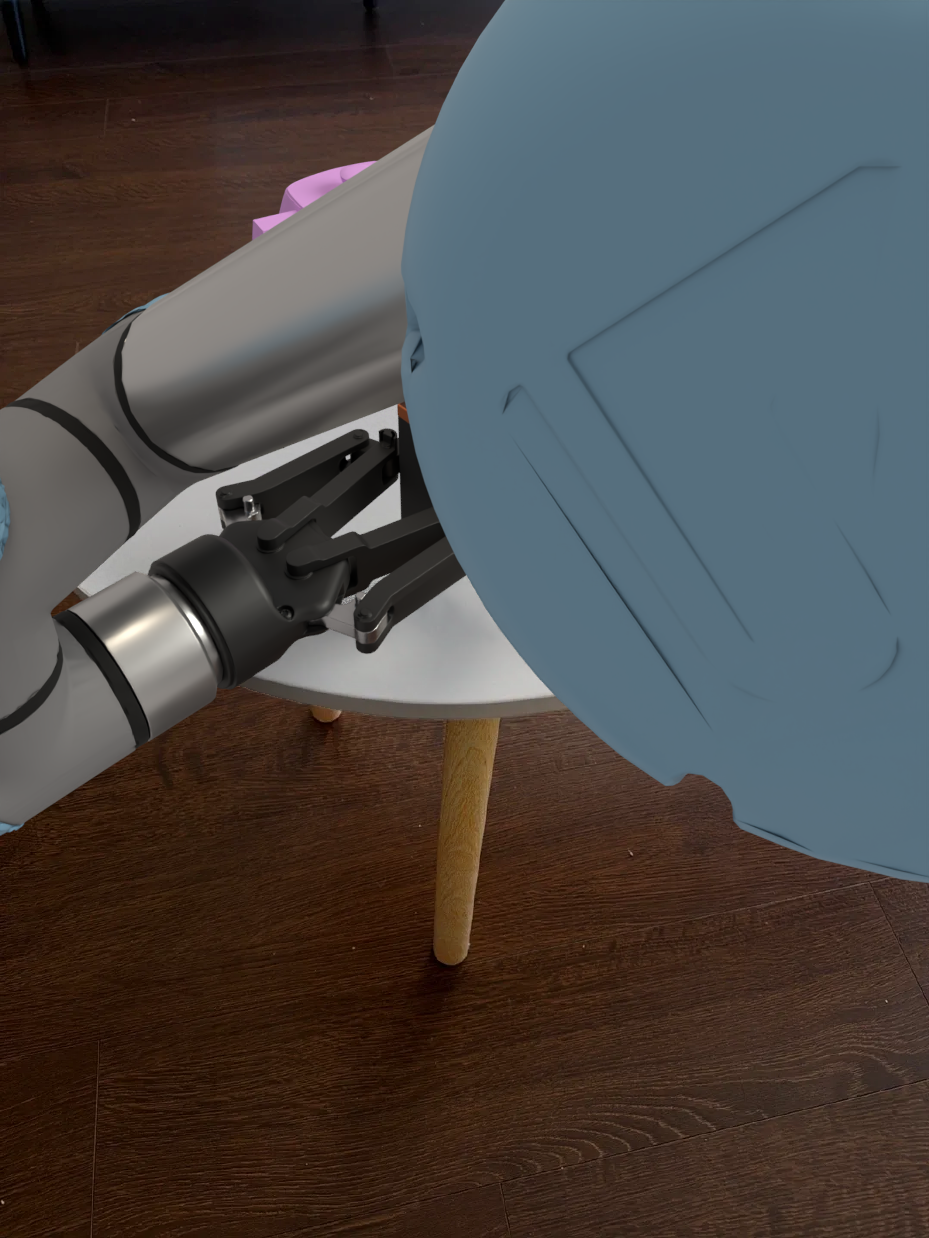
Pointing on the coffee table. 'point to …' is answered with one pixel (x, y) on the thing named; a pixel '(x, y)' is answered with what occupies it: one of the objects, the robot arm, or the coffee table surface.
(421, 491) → the standing box
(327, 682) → the coffee table surface
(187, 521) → the coffee table surface
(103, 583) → the coffee table surface
